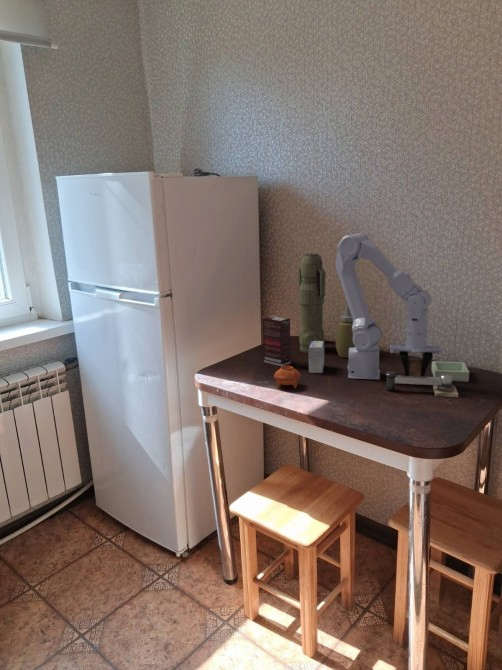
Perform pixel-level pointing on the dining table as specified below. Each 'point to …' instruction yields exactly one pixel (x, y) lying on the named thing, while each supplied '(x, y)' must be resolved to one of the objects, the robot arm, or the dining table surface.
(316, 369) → the medicine box
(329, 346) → the dining table surface
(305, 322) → the thermos
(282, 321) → the supplement box
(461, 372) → the tray
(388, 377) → the crank lever
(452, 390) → the crank mount
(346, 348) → the squeeze bottle
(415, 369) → the plug
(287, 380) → the pot
